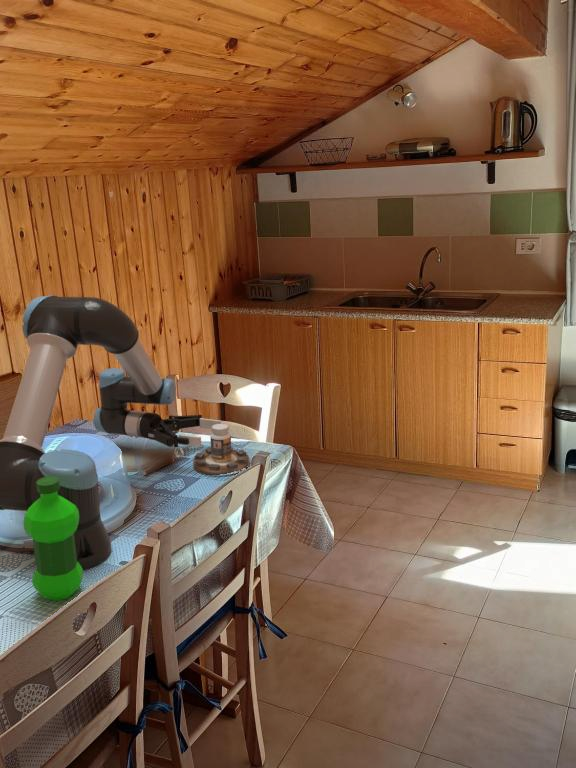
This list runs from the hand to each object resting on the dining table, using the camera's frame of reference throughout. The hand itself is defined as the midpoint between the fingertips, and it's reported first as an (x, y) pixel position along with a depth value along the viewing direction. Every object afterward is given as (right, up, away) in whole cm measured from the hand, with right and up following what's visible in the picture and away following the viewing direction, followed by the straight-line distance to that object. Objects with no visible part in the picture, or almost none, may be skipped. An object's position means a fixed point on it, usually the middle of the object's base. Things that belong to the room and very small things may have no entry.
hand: (211, 433), depth 214 cm
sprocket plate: (+3, -9, +2) cm, 10 cm away
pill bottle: (+3, -8, +1) cm, 8 cm away
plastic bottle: (-25, -29, -60) cm, 71 cm away
